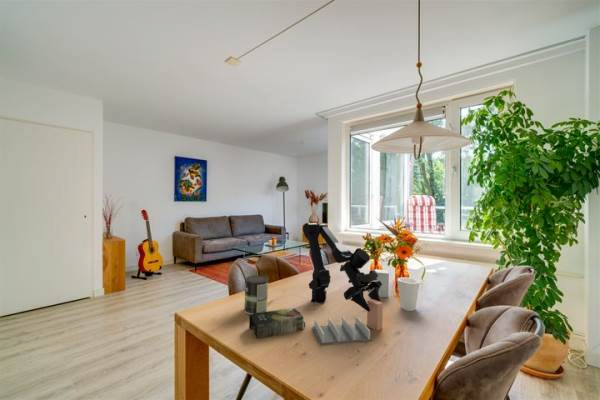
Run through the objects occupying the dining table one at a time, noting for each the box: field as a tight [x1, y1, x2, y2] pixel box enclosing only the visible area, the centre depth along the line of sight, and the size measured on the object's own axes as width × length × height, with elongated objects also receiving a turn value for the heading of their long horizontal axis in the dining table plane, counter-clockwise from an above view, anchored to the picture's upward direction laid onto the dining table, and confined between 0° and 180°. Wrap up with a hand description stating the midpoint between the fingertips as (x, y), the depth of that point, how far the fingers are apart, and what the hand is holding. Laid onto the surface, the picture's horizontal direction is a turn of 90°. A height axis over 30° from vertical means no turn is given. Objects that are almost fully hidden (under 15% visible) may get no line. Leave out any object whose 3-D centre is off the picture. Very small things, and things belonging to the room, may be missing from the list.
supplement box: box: [373, 269, 390, 298], centre depth 140 cm, size 7×7×13 cm
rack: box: [311, 315, 373, 345], centre depth 96 cm, size 12×19×4 cm, turn 100°
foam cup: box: [397, 277, 420, 312], centre depth 122 cm, size 10×9×13 cm
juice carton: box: [248, 307, 306, 339], centre depth 99 cm, size 20×10×6 cm, turn 115°
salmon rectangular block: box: [366, 298, 384, 332], centre depth 103 cm, size 5×3×10 cm, turn 37°
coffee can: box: [243, 275, 269, 316], centre depth 116 cm, size 10×10×14 cm
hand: (375, 309), depth 102 cm, fingers open, 7 cm apart
